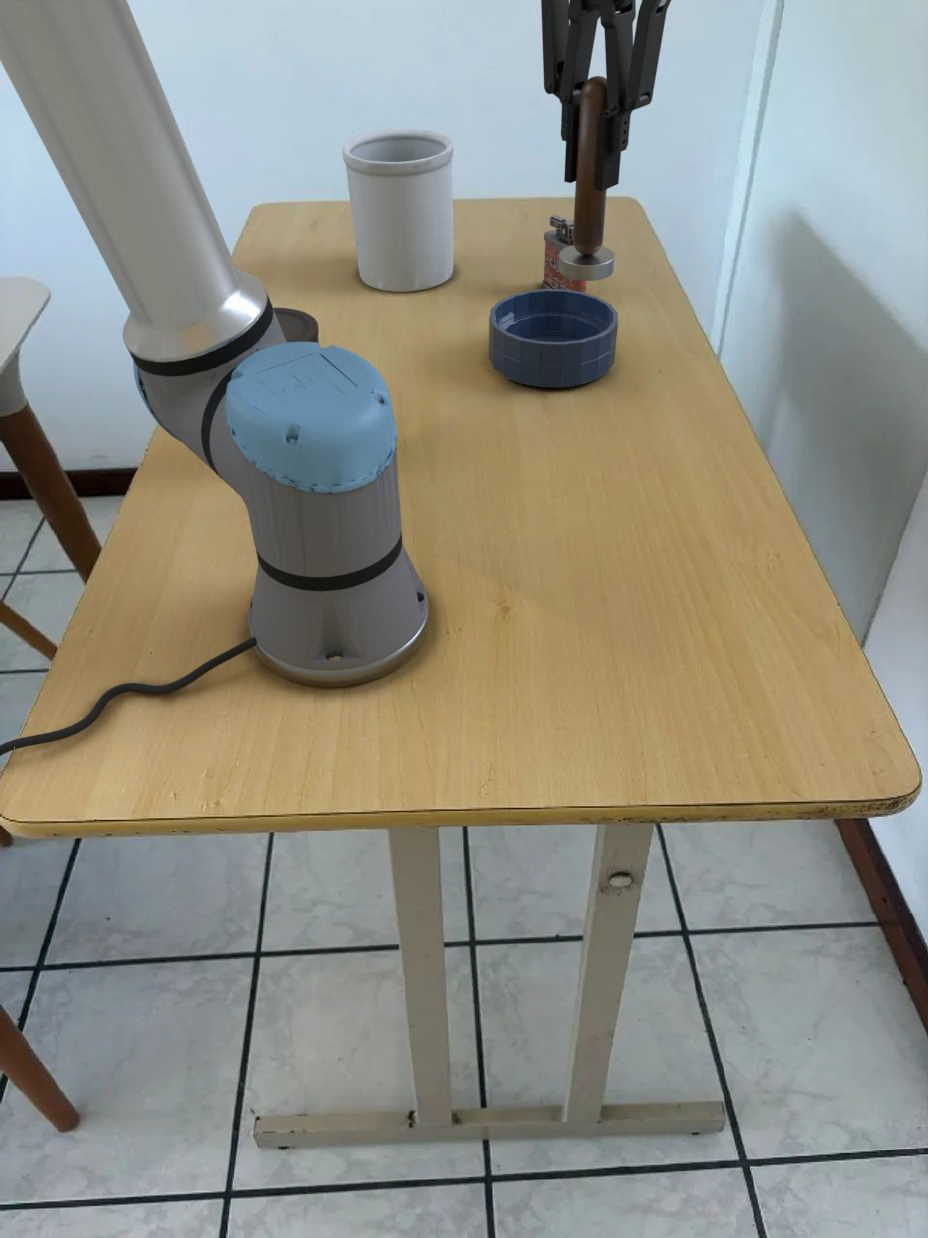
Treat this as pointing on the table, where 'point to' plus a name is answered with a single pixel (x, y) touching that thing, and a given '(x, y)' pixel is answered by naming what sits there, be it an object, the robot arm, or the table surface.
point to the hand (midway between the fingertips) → (591, 181)
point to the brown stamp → (588, 195)
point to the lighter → (553, 246)
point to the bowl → (552, 337)
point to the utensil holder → (401, 207)
